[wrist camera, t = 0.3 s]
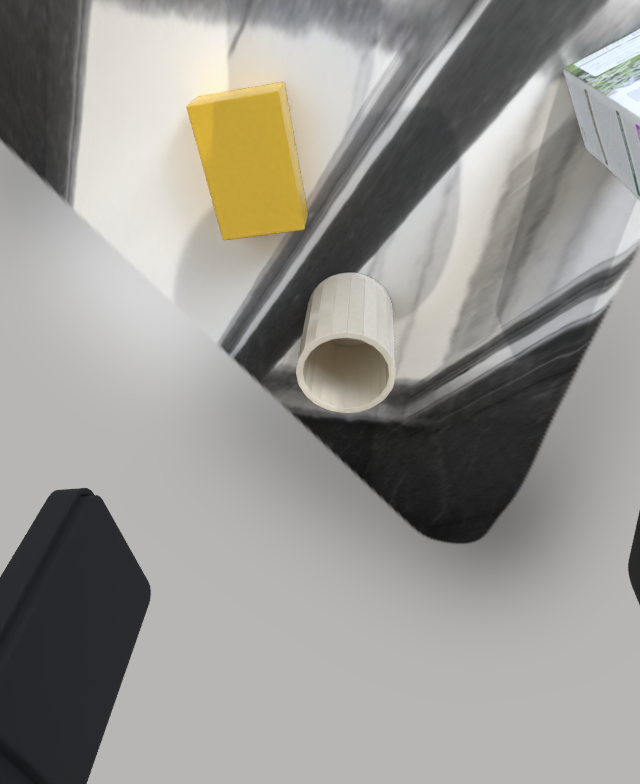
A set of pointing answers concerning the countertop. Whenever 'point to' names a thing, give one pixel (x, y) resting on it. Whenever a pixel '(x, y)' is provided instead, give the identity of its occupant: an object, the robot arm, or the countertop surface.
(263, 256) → the countertop surface
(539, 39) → the countertop surface
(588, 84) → the syrup box
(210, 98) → the block
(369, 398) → the cup
